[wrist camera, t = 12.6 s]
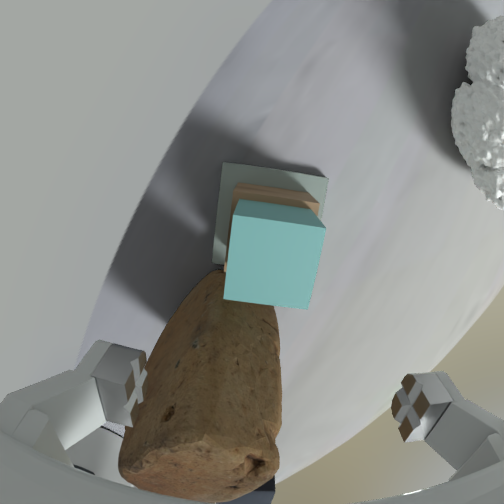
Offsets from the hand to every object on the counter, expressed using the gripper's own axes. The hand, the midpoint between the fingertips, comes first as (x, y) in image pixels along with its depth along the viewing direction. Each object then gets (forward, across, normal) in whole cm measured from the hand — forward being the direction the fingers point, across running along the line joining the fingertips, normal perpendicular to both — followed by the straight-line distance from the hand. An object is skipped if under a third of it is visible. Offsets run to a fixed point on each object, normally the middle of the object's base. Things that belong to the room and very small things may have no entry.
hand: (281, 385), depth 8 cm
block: (+21, -3, -10) cm, 23 cm away
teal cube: (+14, 0, 0) cm, 14 cm away
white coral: (+20, +23, +16) cm, 35 cm away
